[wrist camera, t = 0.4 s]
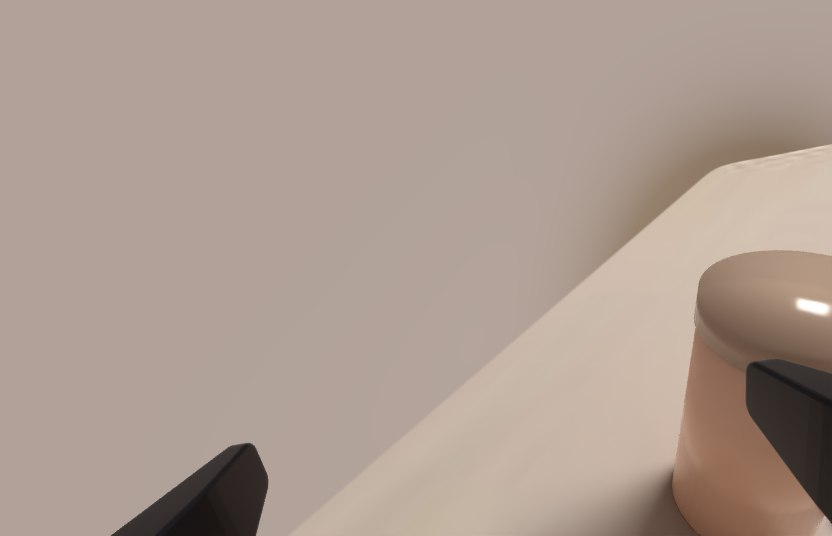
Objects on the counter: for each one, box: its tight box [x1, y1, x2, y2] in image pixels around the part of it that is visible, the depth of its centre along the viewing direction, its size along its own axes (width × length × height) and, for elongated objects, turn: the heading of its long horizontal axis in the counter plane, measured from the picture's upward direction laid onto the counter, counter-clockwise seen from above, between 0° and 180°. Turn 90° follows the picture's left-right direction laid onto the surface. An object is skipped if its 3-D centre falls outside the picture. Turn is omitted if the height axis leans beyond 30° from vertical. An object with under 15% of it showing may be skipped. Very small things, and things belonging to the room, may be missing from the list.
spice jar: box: [672, 250, 832, 536], centre depth 16 cm, size 5×5×12 cm
